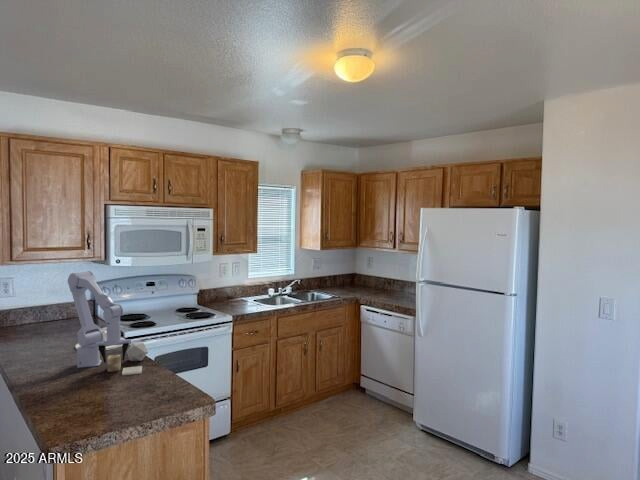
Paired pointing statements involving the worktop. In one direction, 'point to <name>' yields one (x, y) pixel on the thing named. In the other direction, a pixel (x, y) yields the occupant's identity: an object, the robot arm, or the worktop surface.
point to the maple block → (114, 362)
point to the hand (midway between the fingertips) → (114, 360)
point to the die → (137, 352)
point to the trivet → (132, 370)
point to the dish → (104, 340)
